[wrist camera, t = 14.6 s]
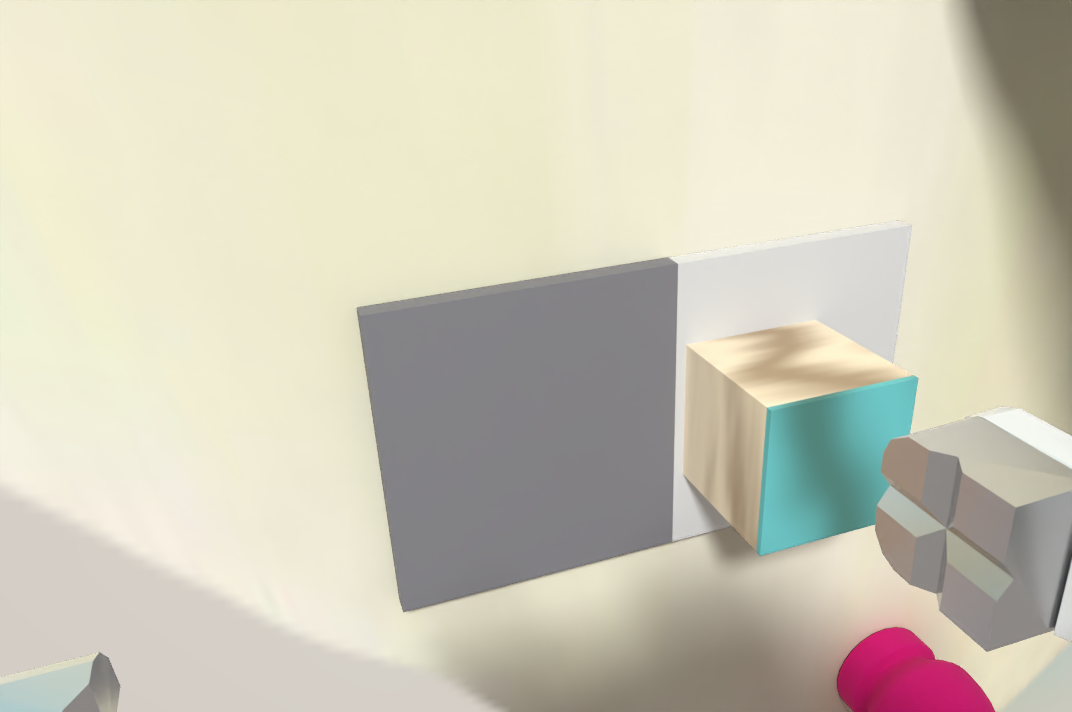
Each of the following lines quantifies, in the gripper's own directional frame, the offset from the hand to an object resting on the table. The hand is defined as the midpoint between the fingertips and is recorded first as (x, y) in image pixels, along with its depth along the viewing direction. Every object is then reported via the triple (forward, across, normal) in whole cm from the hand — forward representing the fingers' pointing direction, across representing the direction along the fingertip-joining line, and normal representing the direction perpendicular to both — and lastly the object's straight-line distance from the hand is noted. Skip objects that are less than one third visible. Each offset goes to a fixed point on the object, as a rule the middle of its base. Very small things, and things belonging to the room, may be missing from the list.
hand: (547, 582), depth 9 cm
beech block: (+19, -18, +15) cm, 30 cm away
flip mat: (+27, -14, +15) cm, 33 cm away
